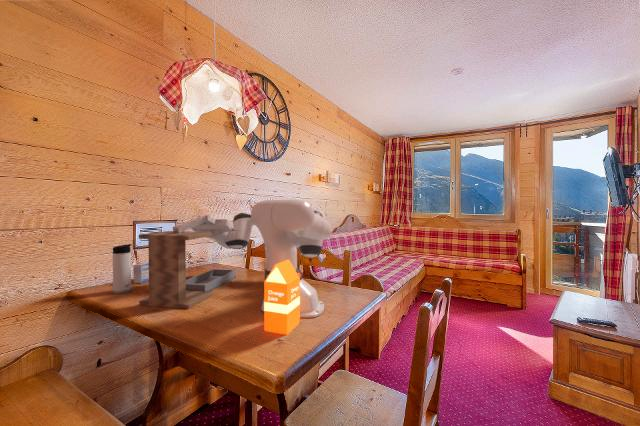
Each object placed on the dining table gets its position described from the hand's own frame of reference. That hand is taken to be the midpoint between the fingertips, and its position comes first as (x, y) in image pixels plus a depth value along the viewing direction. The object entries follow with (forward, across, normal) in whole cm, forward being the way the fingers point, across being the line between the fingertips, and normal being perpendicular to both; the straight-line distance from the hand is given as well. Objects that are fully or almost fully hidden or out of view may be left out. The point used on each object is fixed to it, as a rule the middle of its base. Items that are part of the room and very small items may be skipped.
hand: (202, 217), depth 125 cm
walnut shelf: (0, -1, -36) cm, 36 cm away
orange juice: (+13, -48, -44) cm, 66 cm away
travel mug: (-5, +29, -34) cm, 45 cm away
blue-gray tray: (-19, 0, -25) cm, 32 cm away
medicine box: (-18, +34, -26) cm, 46 cm away
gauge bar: (+4, 0, -6) cm, 8 cm away
